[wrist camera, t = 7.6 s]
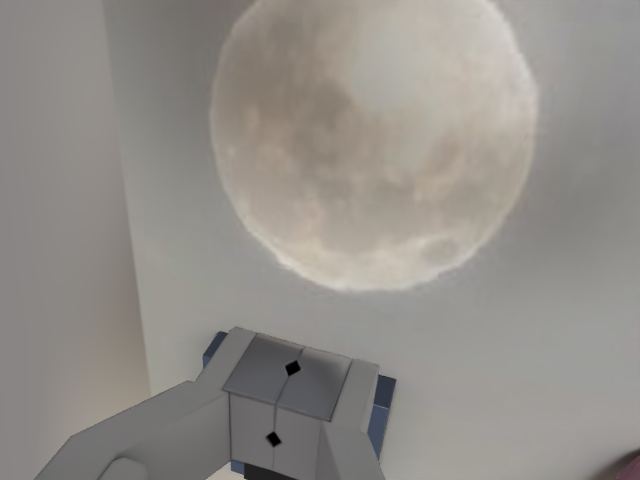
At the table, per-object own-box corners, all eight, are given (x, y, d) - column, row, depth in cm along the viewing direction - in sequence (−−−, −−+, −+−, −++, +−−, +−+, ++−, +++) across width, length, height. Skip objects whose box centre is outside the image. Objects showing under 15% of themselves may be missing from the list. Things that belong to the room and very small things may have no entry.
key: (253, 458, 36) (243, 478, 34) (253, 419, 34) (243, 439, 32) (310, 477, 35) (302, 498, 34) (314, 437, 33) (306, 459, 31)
